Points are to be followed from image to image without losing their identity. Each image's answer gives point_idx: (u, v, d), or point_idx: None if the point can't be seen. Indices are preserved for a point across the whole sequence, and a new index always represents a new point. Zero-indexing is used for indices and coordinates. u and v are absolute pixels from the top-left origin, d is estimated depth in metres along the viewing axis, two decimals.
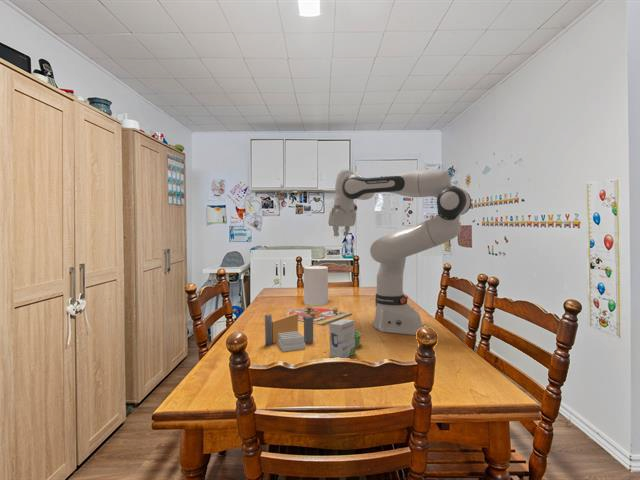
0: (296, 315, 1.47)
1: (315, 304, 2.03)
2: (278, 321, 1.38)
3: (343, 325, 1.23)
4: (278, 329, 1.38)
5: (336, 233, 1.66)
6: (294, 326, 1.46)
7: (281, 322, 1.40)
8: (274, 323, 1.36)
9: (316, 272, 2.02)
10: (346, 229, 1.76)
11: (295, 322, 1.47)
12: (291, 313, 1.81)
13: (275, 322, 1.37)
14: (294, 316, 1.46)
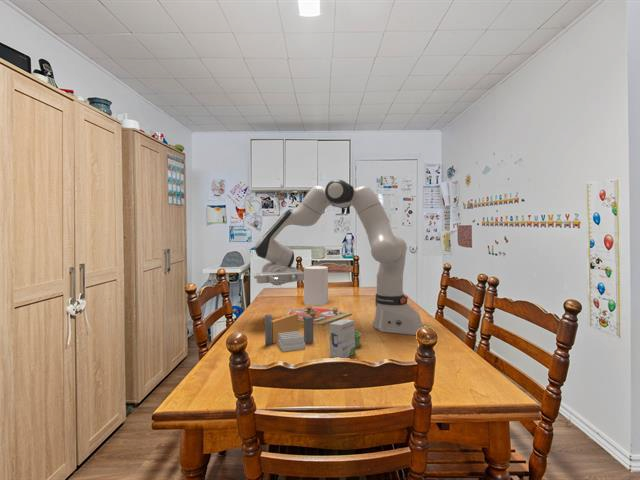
0: (296, 315, 1.47)
1: (315, 304, 2.03)
2: (278, 321, 1.38)
3: (343, 325, 1.23)
4: (278, 329, 1.38)
5: (273, 278, 1.52)
6: (294, 326, 1.46)
7: (281, 322, 1.40)
8: (274, 323, 1.36)
9: (315, 272, 2.02)
10: None
11: (295, 322, 1.47)
12: (291, 313, 1.81)
13: (275, 322, 1.37)
14: (294, 316, 1.46)
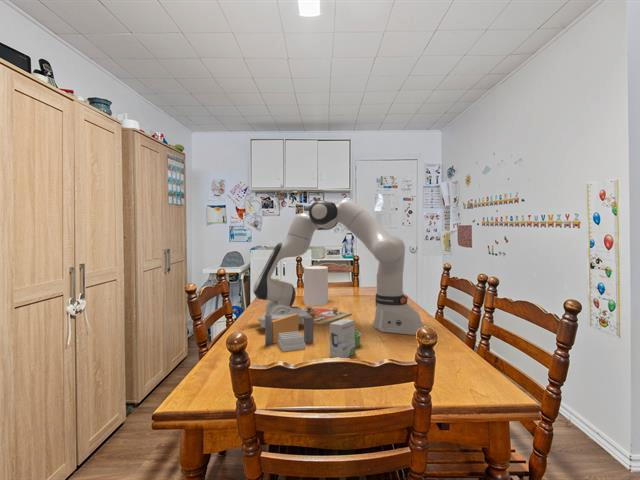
0: (297, 315, 1.47)
1: (315, 304, 2.03)
2: (278, 321, 1.38)
3: (343, 325, 1.23)
4: (278, 329, 1.38)
5: None
6: (295, 326, 1.46)
7: (281, 322, 1.39)
8: (274, 323, 1.36)
9: (315, 272, 2.02)
10: None
11: (296, 323, 1.46)
12: None
13: (275, 322, 1.37)
14: (295, 316, 1.46)
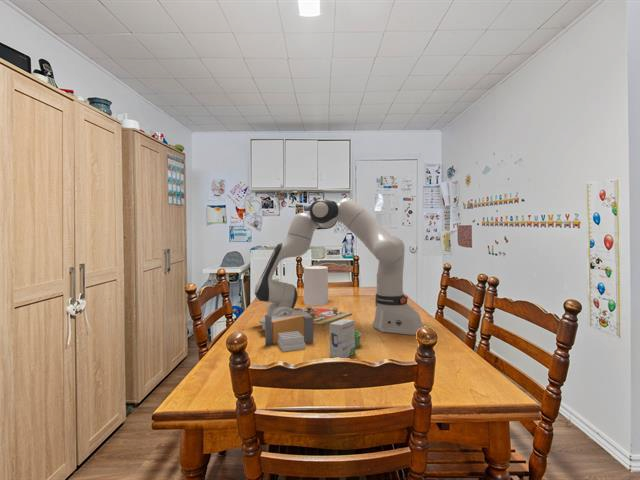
0: None
1: (315, 304, 2.03)
2: (280, 322, 1.37)
3: (343, 325, 1.23)
4: (279, 330, 1.37)
5: None
6: (300, 328, 1.43)
7: (283, 323, 1.38)
8: (275, 323, 1.36)
9: (315, 272, 2.02)
10: None
11: (302, 324, 1.44)
12: None
13: (276, 322, 1.36)
14: (300, 318, 1.43)
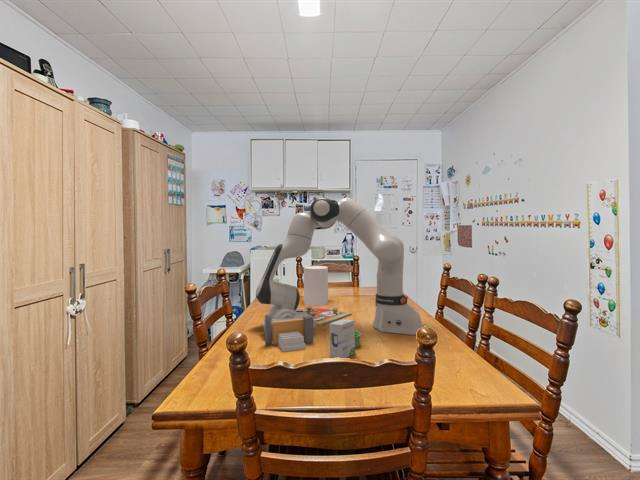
0: None
1: (315, 304, 2.03)
2: (281, 323, 1.36)
3: (343, 325, 1.23)
4: (280, 331, 1.36)
5: None
6: None
7: (285, 324, 1.36)
8: (275, 324, 1.35)
9: (315, 272, 2.02)
10: None
11: None
12: None
13: (276, 323, 1.35)
14: None
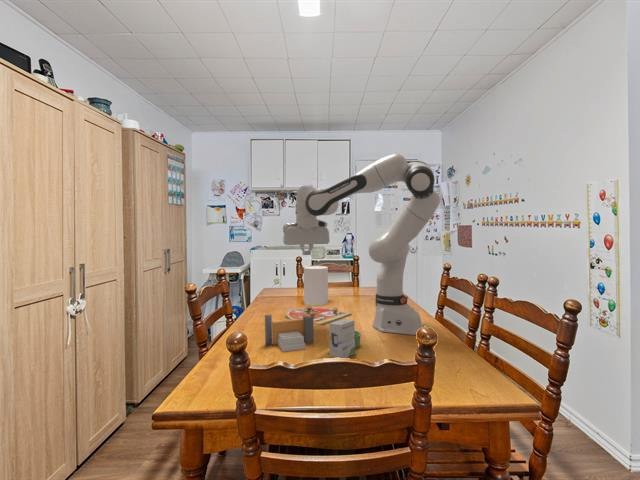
0: None
1: (315, 304, 2.03)
2: (281, 323, 1.36)
3: (343, 325, 1.23)
4: (280, 331, 1.36)
5: (303, 252, 1.61)
6: None
7: (285, 324, 1.36)
8: (275, 324, 1.35)
9: (315, 272, 2.02)
10: (310, 248, 1.63)
11: None
12: (291, 313, 1.82)
13: (276, 323, 1.35)
14: None
